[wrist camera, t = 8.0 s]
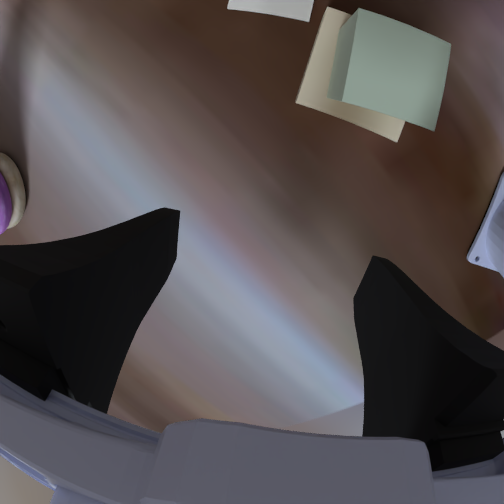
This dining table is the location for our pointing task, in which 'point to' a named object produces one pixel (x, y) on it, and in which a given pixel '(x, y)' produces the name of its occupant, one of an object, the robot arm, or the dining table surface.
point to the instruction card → (276, 7)
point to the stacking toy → (10, 194)
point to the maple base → (319, 78)
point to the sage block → (389, 68)
